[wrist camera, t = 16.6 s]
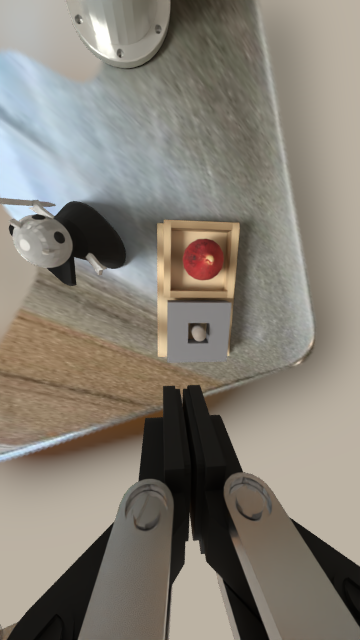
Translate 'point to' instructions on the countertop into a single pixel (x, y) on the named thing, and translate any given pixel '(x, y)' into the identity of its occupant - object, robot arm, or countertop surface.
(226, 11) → the countertop surface
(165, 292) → the wooden tray
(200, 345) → the gray holed slab
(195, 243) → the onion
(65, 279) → the toy
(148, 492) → the robot arm
